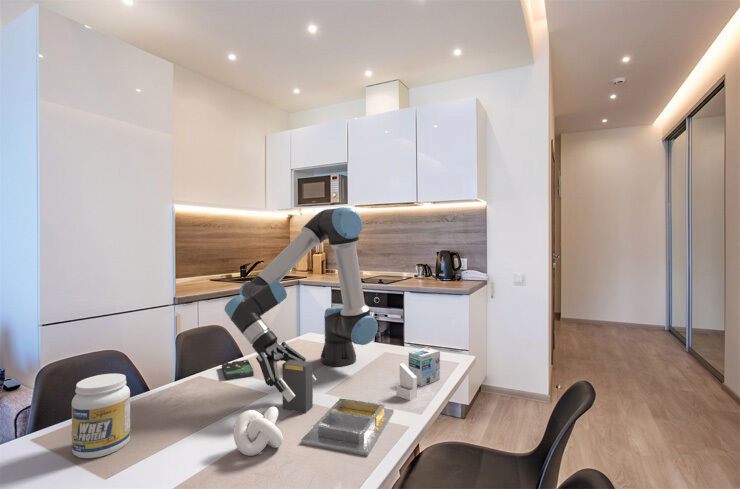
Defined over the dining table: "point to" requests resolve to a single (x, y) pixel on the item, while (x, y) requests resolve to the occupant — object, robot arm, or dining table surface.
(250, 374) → the disk drive
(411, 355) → the light bulb box
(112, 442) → the supplement tub
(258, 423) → the white knot
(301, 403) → the grey block
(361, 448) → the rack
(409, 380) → the white wedge bracket
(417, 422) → the dining table surface
